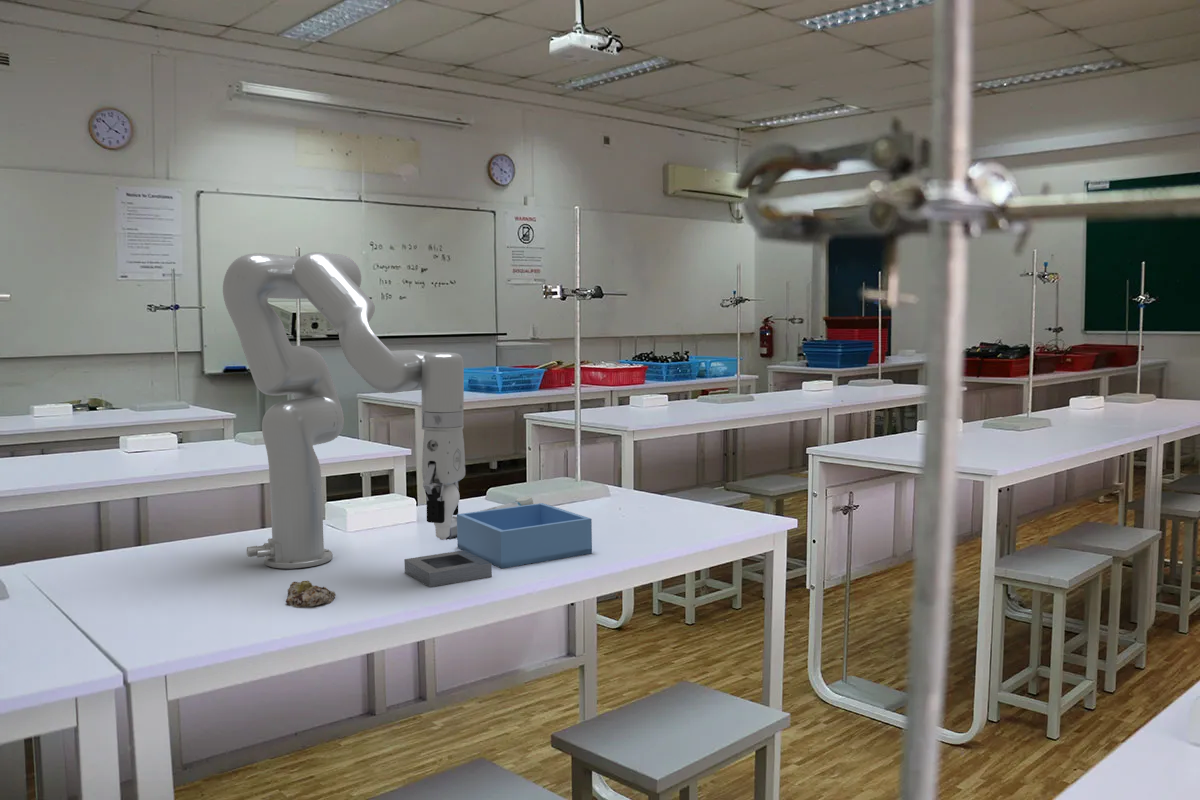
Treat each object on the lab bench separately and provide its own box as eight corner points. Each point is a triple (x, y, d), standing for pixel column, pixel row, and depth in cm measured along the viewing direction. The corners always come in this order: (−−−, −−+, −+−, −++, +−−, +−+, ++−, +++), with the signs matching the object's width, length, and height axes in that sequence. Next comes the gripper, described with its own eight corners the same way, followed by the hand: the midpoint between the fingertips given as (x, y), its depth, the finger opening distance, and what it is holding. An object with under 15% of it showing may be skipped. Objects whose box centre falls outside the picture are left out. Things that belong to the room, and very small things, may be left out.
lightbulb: (461, 542, 173) (461, 483, 172) (427, 544, 171) (427, 484, 170) (457, 535, 178) (457, 477, 177) (424, 536, 177) (424, 478, 176)
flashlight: (435, 519, 206) (526, 489, 222) (439, 548, 207) (530, 516, 223) (448, 523, 202) (540, 492, 218) (453, 553, 203) (544, 520, 219)
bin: (501, 568, 179) (500, 531, 178) (457, 547, 195) (456, 514, 195) (592, 553, 189) (591, 518, 189) (542, 534, 206) (542, 503, 206)
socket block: (429, 587, 167) (429, 573, 167) (404, 572, 177) (404, 559, 177) (491, 576, 173) (491, 563, 173) (464, 562, 183) (463, 550, 183)
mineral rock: (347, 588, 159) (302, 584, 154) (342, 614, 159) (297, 611, 154) (320, 578, 167) (276, 574, 162) (315, 602, 167) (271, 599, 162)
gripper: (444, 427, 163) (444, 530, 165) (478, 416, 180) (478, 510, 182) (403, 425, 165) (404, 527, 167) (441, 414, 182) (441, 507, 184)
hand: (442, 517), depth 174 cm, fingers closed on lightbulb, 6 cm apart
